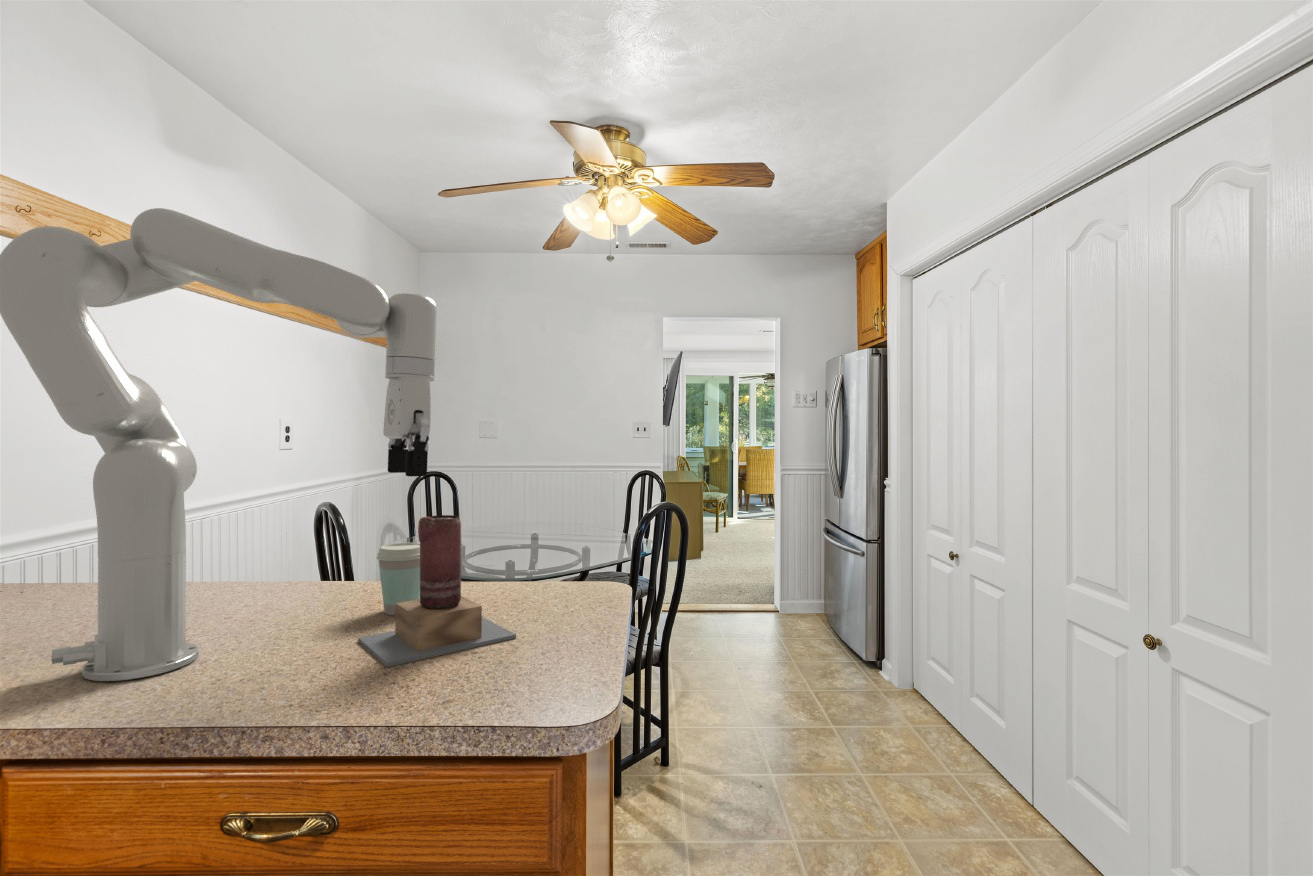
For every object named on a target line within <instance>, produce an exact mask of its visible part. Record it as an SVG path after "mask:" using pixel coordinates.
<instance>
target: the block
mask: <svg viewBox="0 0 1313 876" xmlns="http://www.w3.org/2000/svg"><path fill="white" fill-rule="evenodd" d="M482 606H483V605H481V604H479V603H476V602H474V601H472V600H470V599H469V598H466V597H464V596H462V595H461V600H460V602H459V604H458V605H457V606H455V607H451V608H447V609H437V610H432V609H425V608H423V607H422V605H421V604H420V599H419V600H412V601H406V602H400V603H395V615H394V616H395V617H394V618H395V619H394V621H395V624H394V625H395V626H394V631H395V635H397V636H398V637H399V638H401V639H402V640H403V641H405V642H406V643H407V644H409V645H410V646H411V647H413V648H414V649H415V650H417V651H422V650H426V649H431V648H436V647H440V646H445V645H449V644H454V643H459V642H463V641H468V640H473V639H477V638H481V636H482V617H483V616H482V614H483V613H482V612H483V611H482V609H483V608H482Z"/></svg>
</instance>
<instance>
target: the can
mask: <svg viewBox="0 0 1313 876" xmlns="http://www.w3.org/2000/svg"><path fill="white" fill-rule="evenodd" d="M417 533H418V543H420V604H421V605H422V607H423V608H425V609H432V610H437V609H447V608H451V607H455V606H457V605H458V604H459V602H460V600H461V596H462V592H461V591H462V589H461V588H462V574H461V573H462V556H461V555H462V522H461V520H460V517H459V516H457V515H450V514H449V515H448V514H447V515H446V514H445V515H444V514H441V515H431V516H424V517H421V518H419V520H418V526H417Z"/></svg>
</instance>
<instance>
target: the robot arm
mask: <svg viewBox="0 0 1313 876" xmlns="http://www.w3.org/2000/svg"><path fill="white" fill-rule="evenodd" d="M129 232H130V237H129V238H128V239H124V240H119V241H116V242H112V243H108V244H104V245H100V244H98V243H97V242H96V241H95V240H94V239H92V238H90V237H88V236H86V235H85V234H83V233H81V232H79V231H75V230H73V229H69V228H66V227H62V226H49V225H48V226H47V225H45V226H39V227H34V228H32V229H29V230H27V231H24V232H23V233H21V234H19V235H17V236H16V237H14V238H13V239H12V240H11V241H10V242H8V244H7V245H6V246H5V247H4V249H3V250H2V251H1V252H0V316H1V318H2V321H3V322H4V324H5V326H6V328H7V329H8V331H9V333H10V334H11V336H12V338H13V339H14V340H15V343H16V344H17V346H18V347H19V348H20V350H21V352H22V354H23V355H24V357H25V358H26V361H27V362H28V364H29V366H30V368H31V370H32V371H33V373H34V374H35V376H36V377H37V379H38V380H39V382H40V384H41V386H42V387H43V388H44V390H45V392H46V394H47V395H48V397H49V399H50V400H51V402H52V403H53V406H54V407H55V409H56V411H57V413H58V415H59V416H60V417H61V419H62V420H63V422H64V423H65V424H66V425H67V426H69V427H70V428H71V429H73V431H76V432H78V433H81V434H84V435H88V436H92V437H94V438H95V439H96V442H97V443H98V444H99V446H100V449H102V451H103V452H104V454H103V455H102V456H101V457H100V459H99V460H98V462H97V464H96V466H95V469H94V472H93V478H92V486H93V487H92V490H93V491H92V492H93V499H94V507H95V513H96V515H95V516H96V525H97V526H96V527H97V529H96V530H97V634H95V635H94V640H91V641H85V642H84V644H83V645H78V646H77V645H76V646H72V647H71V646H66V647H59V648H53V649H51V665H56V664H62V666H68V665H69V666H70V665H74V664H77V663H83V662H86V663H84V664H83V665H82V667H81V675H82V677H83V678H84V679H86V680H90V681H95V682H119V681H120V682H121V681H128V680H129V681H131V680H134V679H142V678H147V677H153V676H157V675H160V674H164V673H168V672H171V671H174V670H177V669H180V668H183V667H185V666H187V665H189V664H191V663H192V662H194V661H195V660H196V659H197V658H198V657H199V655H200V654H199V653H200V652H199V651H200V648H199V646H198V645H196V644H194V643H190V642H186V630H187V629H186V626H187V625H186V622H187V621H186V620H187V619H186V617H187V616H186V610H187V609H186V607H187V605H186V604H187V601H186V600H187V599H186V597H187V596H186V595H187V594H186V593H187V583H186V582H187V581H186V580H187V547H186V545H187V543H186V542H187V539H186V538H187V536H186V535H187V531H186V530H187V527H186V513H185V511H186V510H185V492H186V491H187V490H188V489H189V488H191V486H192V484H193V483H194V481H195V479H196V477H197V473H198V467H197V466H198V465H197V461H196V457H195V456H194V454H193V453H194V452H192V449H191V448H190V446H189V444H188V442H187V440H186V439H185V438H184V435H183V434H182V432H181V431H180V429H179V427H178V426H177V424H176V423H175V421H174V419H173V418H172V416H171V414H170V412H169V411H168V409H167V407H166V405H165V404H164V403H163V400H162V399H161V397H160V396H159V394H157V392H156V391H155V390H154V388H153V387H152V386H151V385H150V384H149V383H147V382H146V381H145V380H143V379H142V378H140V377H138V376H136V375H133V374H131V373H129V372H128V371H127V370H126V369H125V366H123V364H122V363H121V361H120V360H119V359H118V357H117V355H116V354H115V352H114V350H113V349H112V347H111V346H110V344H109V342H108V340H107V337H106V336H105V334H104V332H103V331H102V330H101V328H100V326H99V325H98V324H97V322H96V321H95V320H94V318H93V317H92V315H91V313H90V311H89V310H88V307H89V308H107V307H112V306H117V305H121V304H124V303H128V302H131V301H132V302H133V301H135V300H138V299H142V298H145V297H149V296H152V295H156V294H160V293H162V292H166V291H170V290H173V289H177V288H180V287H182V286H185V285H188V284H190V283H193V282H197V283H200V284H202V285H205V286H208V287H211V288H214V289H216V290H220V291H222V292H226V293H227V294H231V295H233V296H237V297H239V298H241V299H245V300H247V301H250V302H254V303H255V302H256V303H258V304H259V303H260V304H282V305H283V304H284V305H288V306H293V307H297V308H300V309H304V310H307V311H310V312H313V313H316V314H320V315H322V316H325V317H327V318H329V319H332V320H335V321H336V324H337V325H338V327H339V328H340V329H341V330H342V331H343V332H344V333H346V334H347V335H349V336H351V337H356V338H359V339H361V338H362V339H363V338H364V339H365V338H366V339H368V338H369V339H370V338H386V350H385V351H386V352H385V353H386V355H385V356H386V357H385V377H384V378H386V379H387V380H388V382H387V383H388V384H387V388H386V389H387V390H386V396H385V397H386V398H385V407H384V416H383V417H384V420H383V429H382V431H383V436H385V438H388V439H389V441H388V445H387V446H388V447H387V448H388V449H387V451H388V452H387V456H388V457H387V472H388V473H391V474H395V473H396V474H398V473H399V474H402V473H403V474H405V476H406V477H427V475H428V459H429V458H428V457H429V456H428V455H429V453H428V451H429V443H428V442H429V440H430V436H429V435H430V431H431V415H432V414H431V407H432V405H431V401H432V399H431V382H434V381H435V364H436V360H435V359H436V338H437V336H436V334H437V304H436V302H435V301H434V300H433V299H432V298H430V297H428V296H426V295H421V294H418V293H417V294H416V293H407V292H405V293H396V294H393V295H392V296H391V297H388V296H387V294H386V293H385V291H384V290H383V289H382V288H381V287H380V286H379V285H378V284H376V283H374V282H373V281H371V280H369V279H367V278H364V277H362V276H360V275H358V274H356V273H353V272H349V271H348V270H345V269H343V268H341V267H337V266H334V265H333V264H330V263H326V262H324V261H321V260H318V259H314V258H311V257H307V256H303V255H299V254H296V253H291V252H290V251H289V252H288V251H285V250H282V249H276V248H272V247H270V246H268V245H265V244H262V243H259V242H257V241H255V240H251V239H249V238H247V237H245V236H241V235H239V234H236V233H233V232H231V231H229V230H226V229H223V228H221V227H218V226H216V225H213V224H210V223H208V222H205V221H203V220H200V219H198V218H195V217H192V216H190V215H188V214H185V213H182V212H179V211H176V210H173V209H167V208H164V207H162V208H161V207H160V208H159V207H155V208H150V209H146V210H144V211H142V212H140V213H139V214H138V215H137V216H136V217H135V218H134V220H133V222H132V223H131V226H130V230H129ZM407 448H408V449H407Z"/></svg>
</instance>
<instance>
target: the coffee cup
mask: <svg viewBox="0 0 1313 876" xmlns="http://www.w3.org/2000/svg"><path fill="white" fill-rule="evenodd" d="M376 555H377V557H376V559H377V560H378V566H379V567H378V568H379V574H380V575H379V577H380V585H381V595H382V602H383V609H384V614H386V615H387V616H395V603H400V602H406V601H412V600H419V599H420V542H395V543H389V544H384V545H382V546H380V547H379V549H378V552H377V554H376Z"/></svg>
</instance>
